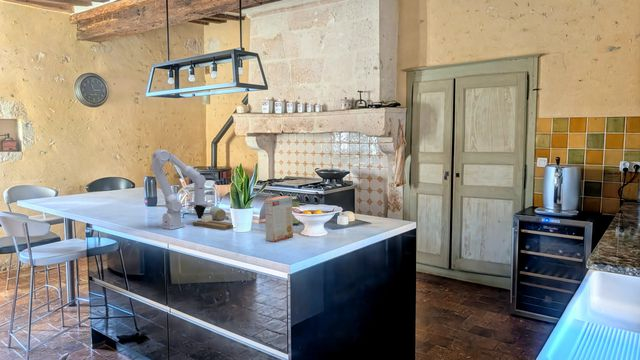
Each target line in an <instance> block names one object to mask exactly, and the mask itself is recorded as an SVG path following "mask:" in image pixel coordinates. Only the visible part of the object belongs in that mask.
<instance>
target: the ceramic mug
mask: <svg viewBox="0 0 640 360" xmlns="http://www.w3.org/2000/svg"><path fill="white" fill-rule="evenodd" d="M208 215H212V220H214V221H223V220H224V219H227V220H228V219H229V216H228V215H227V214H226V211H225V210H224V209H223V208H220V207H218V206H213V207H211V209H210V210H209V213H208Z"/></svg>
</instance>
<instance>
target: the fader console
mask: <svg viewBox="0 0 640 360" xmlns="http://www.w3.org/2000/svg"><path fill="white" fill-rule="evenodd" d="M232 223H233V222H229V221H228V222H227V221H222V220H220V221H219V220H215V219H212V221H209V222H202V219H200V220H197V221H193V222H192V226H193V227H200V228H207V229H213V230H219V231H227V230H230V229H234V228H233V225H232Z"/></svg>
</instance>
